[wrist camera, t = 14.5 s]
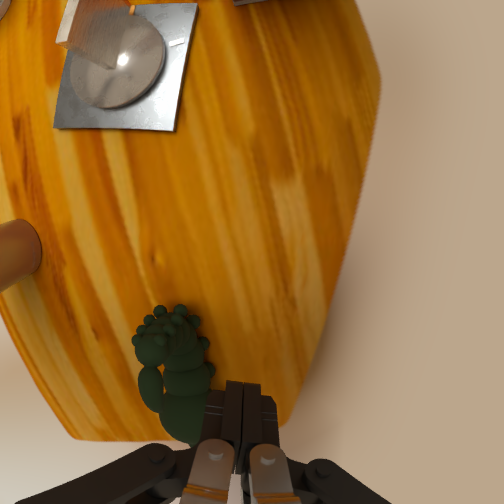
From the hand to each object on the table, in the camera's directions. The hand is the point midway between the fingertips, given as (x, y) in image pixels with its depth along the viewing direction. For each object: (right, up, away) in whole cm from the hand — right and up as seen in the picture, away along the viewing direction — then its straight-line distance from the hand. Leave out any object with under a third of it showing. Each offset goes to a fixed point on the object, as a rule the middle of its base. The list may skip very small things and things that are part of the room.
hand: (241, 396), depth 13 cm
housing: (-17, +31, +21) cm, 41 cm away
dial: (-17, +31, +19) cm, 40 cm away
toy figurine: (-9, -10, +33) cm, 36 cm away
